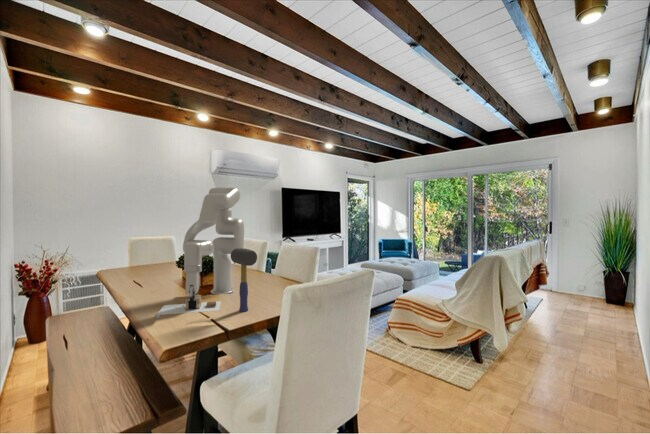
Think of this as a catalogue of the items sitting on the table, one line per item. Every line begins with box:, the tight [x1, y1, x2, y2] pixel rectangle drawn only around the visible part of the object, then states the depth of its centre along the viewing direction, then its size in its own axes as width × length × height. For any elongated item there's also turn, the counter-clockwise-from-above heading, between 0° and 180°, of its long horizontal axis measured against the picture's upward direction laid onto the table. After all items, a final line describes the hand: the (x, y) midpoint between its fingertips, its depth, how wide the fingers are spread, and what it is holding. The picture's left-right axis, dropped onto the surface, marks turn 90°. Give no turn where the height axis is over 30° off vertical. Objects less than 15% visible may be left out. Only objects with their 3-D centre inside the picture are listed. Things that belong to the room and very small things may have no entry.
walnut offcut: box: [206, 301, 217, 308], centre depth 144 cm, size 4×4×2 cm
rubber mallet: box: [230, 247, 258, 313], centre depth 138 cm, size 12×8×30 cm, turn 48°
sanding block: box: [184, 294, 202, 310], centre depth 142 cm, size 5×6×5 cm
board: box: [155, 300, 222, 319], centre depth 142 cm, size 14×26×2 cm, turn 105°
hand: (193, 306), depth 142 cm, fingers closed on sanding block, 5 cm apart
